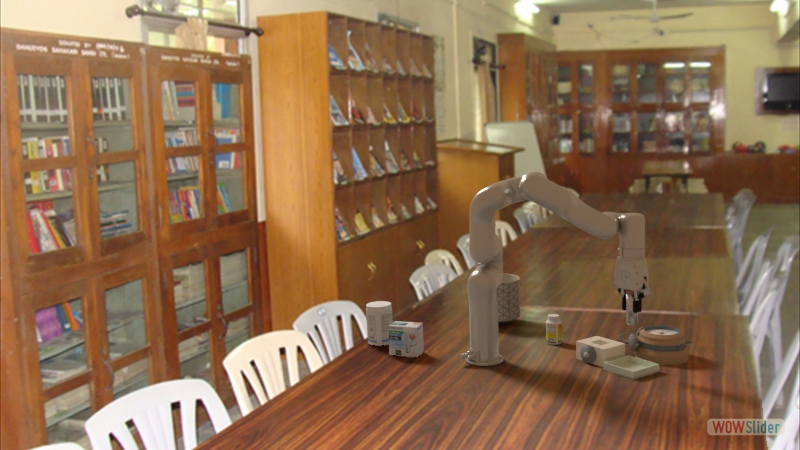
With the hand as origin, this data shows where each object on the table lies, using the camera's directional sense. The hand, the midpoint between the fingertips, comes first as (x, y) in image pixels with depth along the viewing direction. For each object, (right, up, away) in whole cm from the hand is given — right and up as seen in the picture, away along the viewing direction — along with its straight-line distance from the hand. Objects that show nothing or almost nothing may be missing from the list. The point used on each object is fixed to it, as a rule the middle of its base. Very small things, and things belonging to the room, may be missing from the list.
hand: (631, 310), depth 243 cm
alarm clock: (+12, -17, +18) cm, 28 cm away
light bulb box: (-70, -18, +28) cm, 78 cm away
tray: (0, -19, +3) cm, 20 cm away
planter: (-35, -12, +64) cm, 74 cm away
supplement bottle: (-17, -16, +35) cm, 42 cm away
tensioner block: (-6, -18, +14) cm, 24 cm away
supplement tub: (-80, -17, +42) cm, 92 cm away
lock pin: (0, -4, +1) cm, 4 cm away
